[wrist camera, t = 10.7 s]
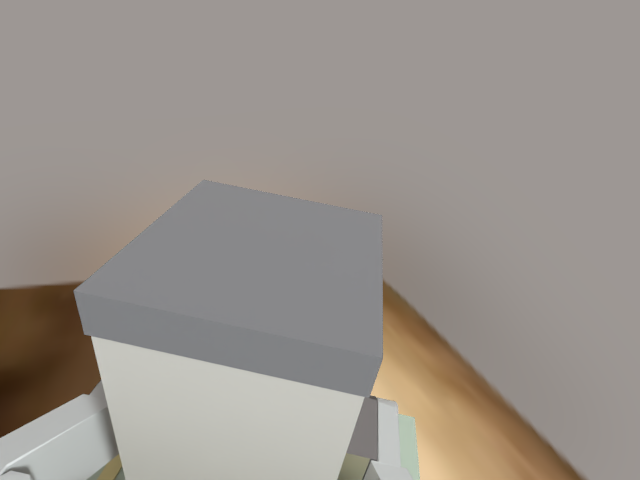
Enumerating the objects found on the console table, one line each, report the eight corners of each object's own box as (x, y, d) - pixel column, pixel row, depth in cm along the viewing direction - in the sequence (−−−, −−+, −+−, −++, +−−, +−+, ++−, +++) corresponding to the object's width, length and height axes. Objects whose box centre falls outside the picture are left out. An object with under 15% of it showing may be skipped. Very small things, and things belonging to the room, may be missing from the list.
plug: (152, 604, 11) (72, 290, 5) (213, 451, 15) (212, 171, 9) (286, 639, 11) (383, 358, 5) (311, 474, 15) (382, 204, 9)
